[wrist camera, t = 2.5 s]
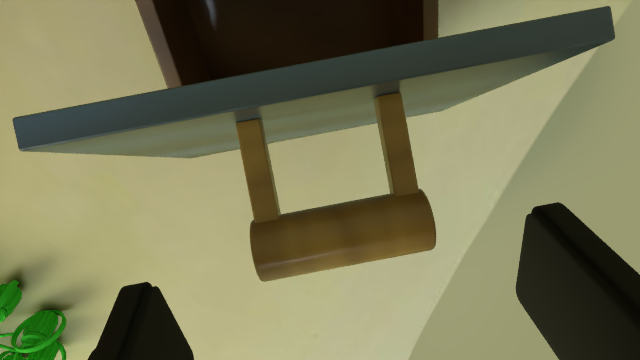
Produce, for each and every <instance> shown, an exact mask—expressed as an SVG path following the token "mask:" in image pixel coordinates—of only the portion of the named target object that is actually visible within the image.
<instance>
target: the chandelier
mask: <svg viewBox="0 0 640 360" xmlns="http://www.w3.org/2000/svg"><path fill="white" fill-rule="evenodd" d="M18 284H19V281H16V280H13V281H12V282H11V283H10V284H1V285H0V322H2V321H4V319H5V318H6V317H8V316H9V315H10V314H11V313H12V312H13V310H14V309H15V307H16V306H17V304H18V303H19V301H20V300H21V297H22V291H21V290H20V289H19V288H18V287H17V285H18ZM57 315H59V316H61V317H62V323H61V325H60V327H59V329H58V330H57V331H56V332H55V333H54V334H53V332H54V330H55V328H56V326H57V324H58V316H57ZM44 320H45V321H44ZM65 326H66V318H65V316H64V314H63V313H62V312H61V311H58V310H43V311H39V312H37V313H35V315H33V316H31V317H30V318H28V319H27V320H25V321H24V322H23V323H22V324H21V325H20V326H19V327H18V328H17V329H16V330H15V332H14V333H7V334H0V337H6V336H12V338H11V344H12V346H13V347H14V348H15V349H14V348H11V347H8V346H5V345H2V344H0V347H1V348H4V349H7V350H10V351H5V352H3V353H1V354H0V360H2V359H3V360H54V358H55V356H56V354H57V352H58V350H60V351H61V354H62V360H66V351H65V349H64V347H63V345H62V344H61V343H60V342H59V341H57V340H56V339H57V338H58V337H59V336H60V335H61V333H62V332H63V330H64V329H65ZM25 327H26V328H25ZM24 328H25V330H24V331H23V337H22V338H21V342H22V345H21V346H20V347H17V346H16V340H17V337H18V336H19V334H20V333H21V331H22V330H23V329H24ZM52 334H53V335H52ZM51 335H52V336H51ZM23 347H24V348H23ZM8 353H13V354H11V355H7V354H8ZM21 353H29V355H28V357H27V358H26V359H25V358H24V357H23V355H22V354H21ZM5 355H7V356H6V357H5V358H3V357H4V356H5Z"/></svg>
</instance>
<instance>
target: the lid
mask: <svg viewBox="0 0 640 360" xmlns="http://www.w3.org/2000/svg"><path fill="white" fill-rule="evenodd" d="M613 39H615V33H614V26H613V20H612V13H611V8H610V7H609V6H605V7H600V8H595V9H590V10H584V11H579V12H574V13H568V14H563V15H558V16H552V17H547V18H542V19H536V20H531V21H526V22H520V23H515V24H510V25H504V26H499V27H494V28H488V29H483V30H478V31H472V32H467V33H462V34H456V35H451V36H446V37H440V38H435V39H430V40H424V41H419V42H414V43H408V44H403V45H398V46H392V47H387V48H382V49H376V50H371V51H366V52H360V53H355V54H350V55H344V56H339V57H334V58H328V59H323V60H318V61H313V62H307V63H302V64H297V65H291V66H286V67H281V68H275V69H270V70H265V71H259V72H254V73H249V74H243V75H238V76H233V77H227V78H222V79H217V80H211V81H206V82H201V83H195V84H190V85H185V86H179V87H174V88H169V89H163V90H158V91H153V92H147V93H142V94H137V95H131V96H126V97H121V98H115V99H110V100H105V101H99V102H94V103H89V104H83V105H78V106H73V107H67V108H62V109H57V110H52V111H46V112H41V113H36V114H30V115H25V116H20V117H15V118H13V124H14V129H15V134H16V138H17V143H18V147H19V150H20V151H28V152H52V153H76V154H100V155H124V156H148V157H172V158H195V157H200V156H205V155H211V154H216V153H221V152H227V151H232V150H237V149H240V150H241V155H242V160H243V165H244V170H245V175H246V180H247V186H248V191H249V196H250V201H251V206H252V211H253V216H254V220H253V221H252V222H251V225H250V244H251V251H252V257H253V262H254V266H255V269H256V272H257V275H258V277H259V278H260V280H261V281H264V282H266V281H271V280H276V279H281V278H287V277H292V276H297V275H302V274H308V273H313V272H318V271H323V270H329V269H334V268H339V267H344V266H350V265H355V264H360V263H365V262H371V261H376V260H381V259H386V258H392V257H397V256H402V255H407V254H413V253H418V252H423V251H428V250H432V249H433V248H434V247H435V244H436V228H435V221H434V217H433V213H432V209H431V206H430V203H429V201H428V199H427V197H426V195H425V193H424V192H423V191H422V190H421V189H418V185H417V179H416V173H415V168H414V162H413V157H412V151H411V145H410V140H409V134H408V129H407V123H406V118H407V117H412V116H417V115H423V114H428V113H433V112H438V111H443V110H445V109H447V108H450V107H452V106H455V105H457V104H460V103H462V102H464V101H467V100H469V99H472V98H474V97H477V96H479V95H481V94H484V93H486V92H489V91H491V90H493V89H496V88H498V87H501V86H503V85H506V84H508V83H510V82H513V81H515V80H518V79H520V78H522V77H525V76H527V75H530V74H532V73H535V72H537V71H539V70H542V69H544V68H547V67H549V66H551V65H554V64H556V63H559V62H561V61H564V60H566V59H568V58H571V57H573V56H576V55H578V54H580V53H583V52H585V51H588V50H590V49H593V48H595V47H597V46H600V45H602V44H605V43H607V42H609V41H612V40H613ZM375 123H378V128H379V133H380V139H381V144H382V150H383V155H384V161H385V166H386V172H387V177H388V183H389V188H390V194H386V195H381V196H375V197H370V198H365V199H360V200H354V201H349V202H344V203H339V204H333V205H328V206H323V207H317V208H312V209H307V210H302V211H296V212H291V213H286V214H281V213H280V208H279V203H278V197H277V192H276V187H275V182H274V177H273V172H272V166H271V161H270V156H269V151H268V146H267V144H269V143H274V142H279V141H285V140H290V139H295V138H301V137H306V136H311V135H317V134H322V133H327V132H332V131H338V130H343V129H348V128H354V127H359V126H364V125H370V124H375Z"/></svg>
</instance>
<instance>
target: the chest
mask: <svg viewBox="0 0 640 360" xmlns="http://www.w3.org/2000/svg"><path fill="white" fill-rule="evenodd" d="M135 1H136V4H137V7H138V9H139V12H140V15H141V18H142V20H143V23H144V26H145V28H146V31H147V34H148V36H149V39H150V42H151V44H152V47H153V50H154V52H155V55H156V58H157V60H158V63H159V66H160V68H161V71H162V74H163V76H164V79H165V82H166V84H167V87H168V89H169V88H174V87H179V86H185V85H190V84H195V83H201V82H206V81H211V80H217V79H222V78H227V77H233V76H238V75H243V74H249V73H254V72H259V71H265V70H270V69H275V68H281V67H286V66H291V65H297V64H302V63H307V62H313V61H318V60H323V59H328V58H334V57H339V56H344V55H350V54H355V53H360V52H366V51H371V50H376V49H382V48H387V47H392V46H398V45H403V44H408V43H414V42H419V41H424V40H430V39H435V38H438V0H135Z"/></svg>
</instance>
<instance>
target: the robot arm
mask: <svg viewBox="0 0 640 360" xmlns="http://www.w3.org/2000/svg"><path fill="white" fill-rule="evenodd" d="M516 294H517V297H518V299H519V301H520V303H521V304H522V306H523V307H524V309H525V310H526V312H527V313H528V315H529V316H530V318H531V319H532V320H533V322H534V323H535V325H536V326H537V328H538V329H539V331H540V332H541V334H542V335H543V337H544V338H545V340H546V341H547V343H548V344H549V345H550V347H551V348H552V350H553V351H554V353H555V354H556V356H557V357H558V359H559V360H640V275H639V274H638V273H637V272H636V271H635V270H634V269H633V268H632V267H631V266H630V265H628V264H627V263H626V262H625V261H624V260H623V259H622V258H621V257H620V256H619V255H618V254H616V253H615V252H614V251H613V250H612V249H611V248H610V247H609V246H608V245H607V244H606V243H605V242H603V241H602V240H601V239H600V238H599V237H598V236H597V235H595V233H594V232H593V231H592V230H590V229H589V228H588V227H587V226H586V225H585V224H584V223H583V222H582V221H581V220H580V219H579V218H577V217H576V216H575V215H574V214H573V213H572V212H571V211H570V210H569V209H567V208H566V207H565V206H564V205H563V204H561V203H553V204H547V205H542V206H537V207H534V208H533V210H532V212H531V214H528V215H527V216H526V221H525V228H524V234H523V241H522V248H521V255H520V262H519V269H518V276H517V282H516ZM88 360H194V356H193V352H192V350H191V348H190V346H189V344H188V342H187V340H186V338H185V337H184V335H183V333H182V331H181V329H180V327H179V325H178V323H177V321H176V320H175V318H174V316H173V314H172V312H171V310H170V308H169V306H168V304H167V303H166V301H165V299H164V297H163V295H162V293H161V291H160V289H159V288H158V287H157V286H154V287H152V286H151V284H150V283H148V282H144V283H139V284H134V285H128V286H124V287H123V288H121V290H120V292H119V294H118V297H117V299H116V301H115V304H114V306H113V309H112V311H111V313H110V316H109V318H108V321H107V323H106V325H105V328H104V330H103V333H102V335H101V337H100V340H99V342H98V345H97V347H96V349H95V350H93V351H92V353H91V355H90V356H89V358H88Z"/></svg>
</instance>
